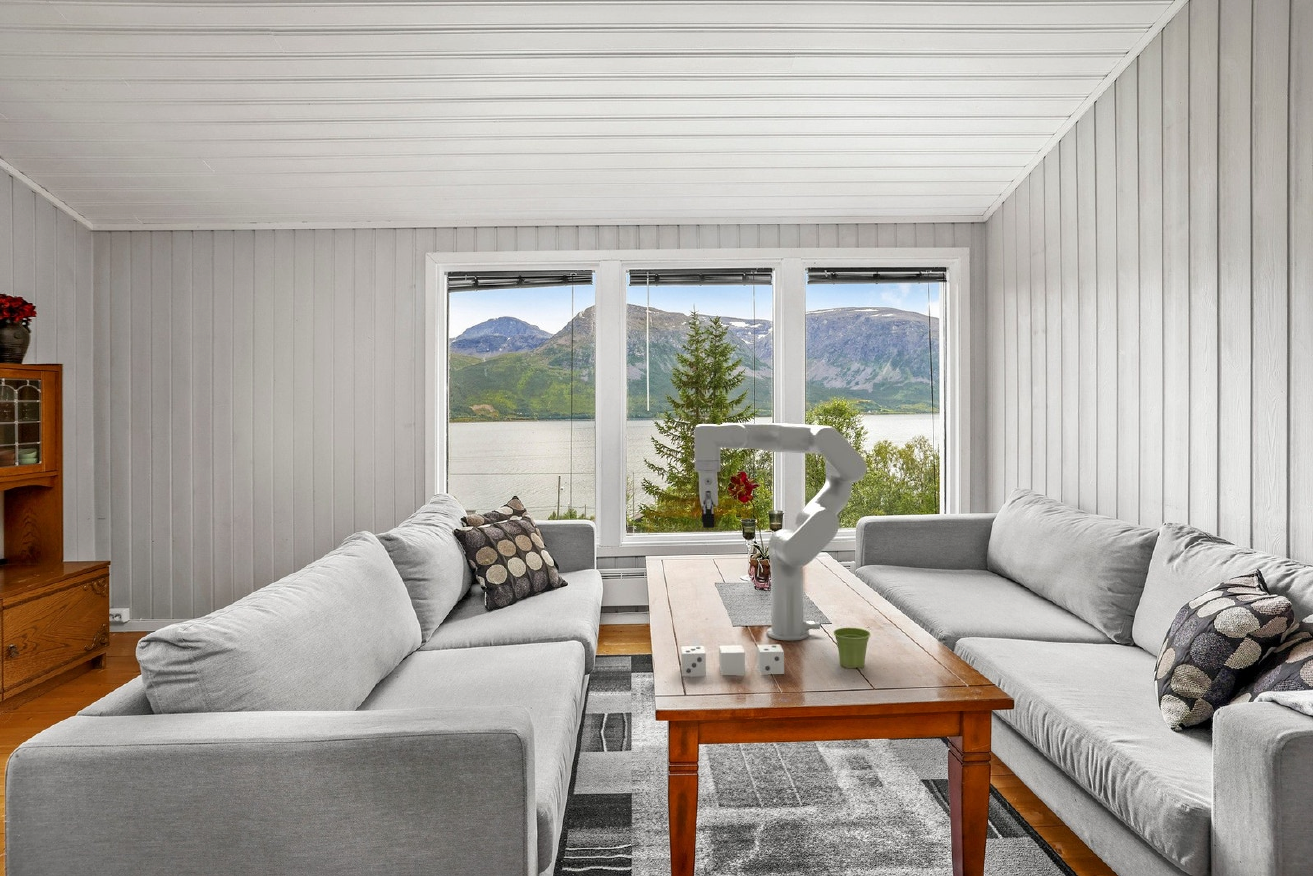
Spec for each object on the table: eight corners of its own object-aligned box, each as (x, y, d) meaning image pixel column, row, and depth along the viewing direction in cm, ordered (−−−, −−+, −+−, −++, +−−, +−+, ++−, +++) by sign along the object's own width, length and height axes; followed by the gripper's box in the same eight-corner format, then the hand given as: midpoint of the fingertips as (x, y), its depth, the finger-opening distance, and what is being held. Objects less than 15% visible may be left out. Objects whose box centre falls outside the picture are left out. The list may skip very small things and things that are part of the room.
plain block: (742, 667, 205) (741, 645, 204) (745, 675, 199) (744, 652, 198) (719, 668, 205) (719, 645, 204) (721, 676, 199) (721, 652, 198)
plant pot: (864, 673, 199) (864, 639, 198) (828, 667, 204) (828, 634, 203) (875, 662, 206) (874, 630, 206) (840, 657, 211) (840, 625, 211)
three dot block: (704, 668, 205) (703, 645, 204) (705, 676, 199) (705, 653, 198) (681, 669, 205) (681, 646, 204) (682, 677, 198) (682, 653, 198)
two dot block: (780, 667, 205) (779, 644, 205) (784, 675, 199) (783, 651, 198) (757, 667, 205) (757, 644, 205) (760, 675, 199) (760, 651, 198)
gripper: (722, 468, 218) (722, 529, 218) (719, 464, 235) (719, 520, 236) (695, 468, 218) (695, 529, 219) (694, 464, 235) (694, 520, 236)
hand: (707, 525), depth 227 cm, fingers open, 9 cm apart
